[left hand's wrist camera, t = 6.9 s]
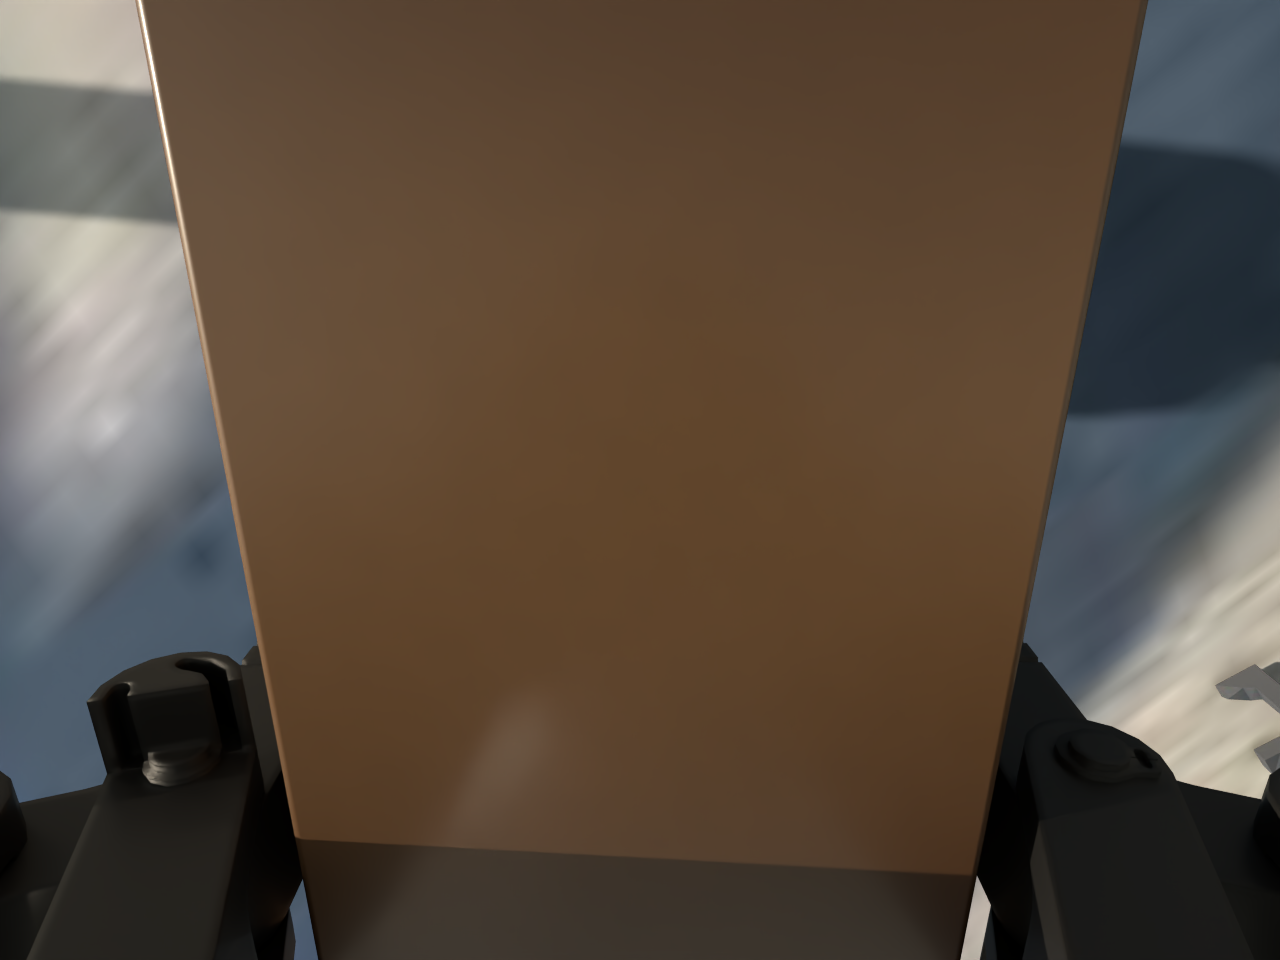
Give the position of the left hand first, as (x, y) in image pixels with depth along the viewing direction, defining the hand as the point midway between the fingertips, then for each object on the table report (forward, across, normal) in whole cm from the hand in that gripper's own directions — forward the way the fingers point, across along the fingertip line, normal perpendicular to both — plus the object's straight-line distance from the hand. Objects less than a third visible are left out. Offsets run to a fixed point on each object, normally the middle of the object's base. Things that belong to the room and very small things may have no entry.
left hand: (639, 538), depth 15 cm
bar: (+1, 0, -8) cm, 8 cm away
